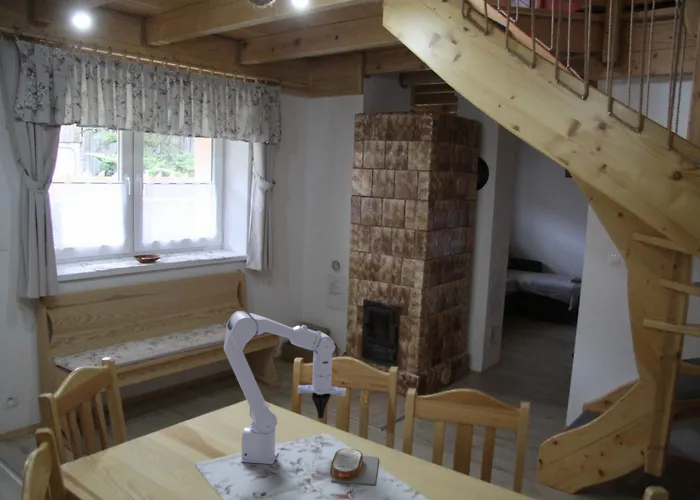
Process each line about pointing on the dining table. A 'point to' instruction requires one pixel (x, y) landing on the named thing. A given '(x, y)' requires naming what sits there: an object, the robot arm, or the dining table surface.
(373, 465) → the mat
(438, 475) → the dining table surface
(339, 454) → the tin
